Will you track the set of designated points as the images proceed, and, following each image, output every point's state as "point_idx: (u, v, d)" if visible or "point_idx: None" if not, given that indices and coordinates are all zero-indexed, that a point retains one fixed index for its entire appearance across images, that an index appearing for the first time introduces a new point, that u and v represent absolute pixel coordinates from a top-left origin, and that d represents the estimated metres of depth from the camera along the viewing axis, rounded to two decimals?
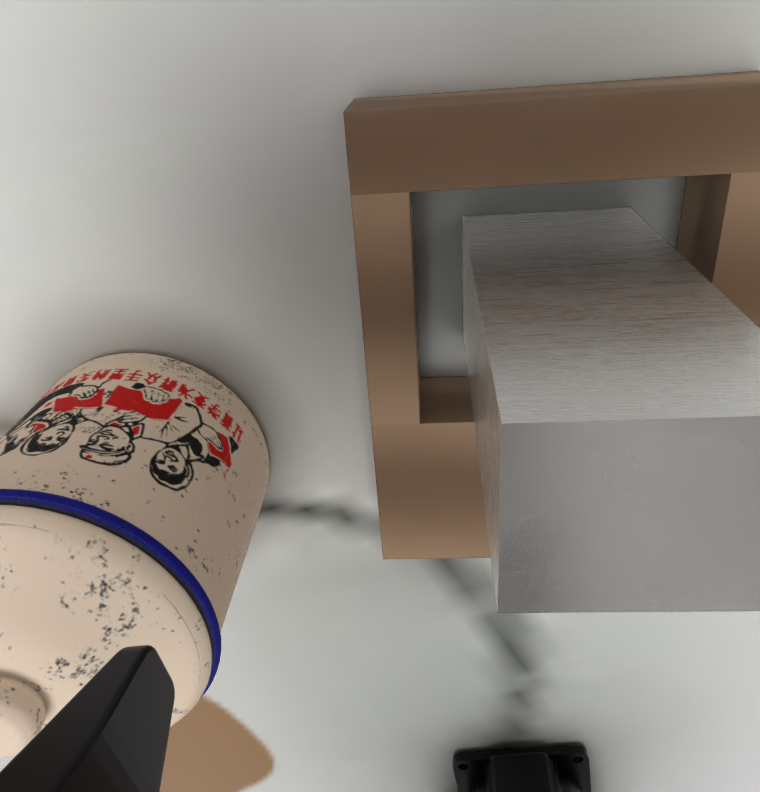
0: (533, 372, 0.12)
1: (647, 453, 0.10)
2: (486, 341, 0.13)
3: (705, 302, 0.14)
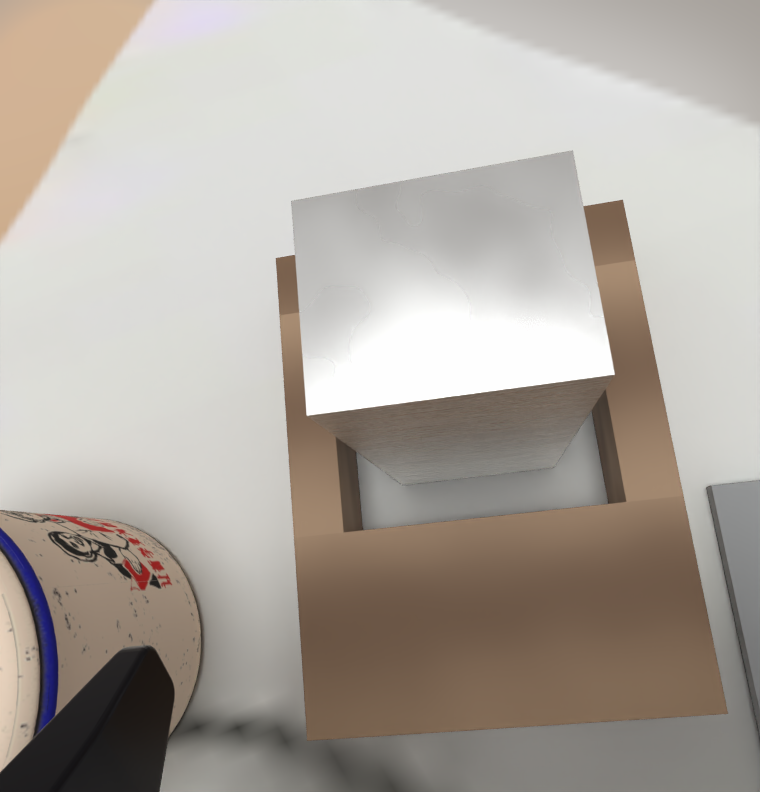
0: None
1: (416, 210, 0.12)
2: None
3: None
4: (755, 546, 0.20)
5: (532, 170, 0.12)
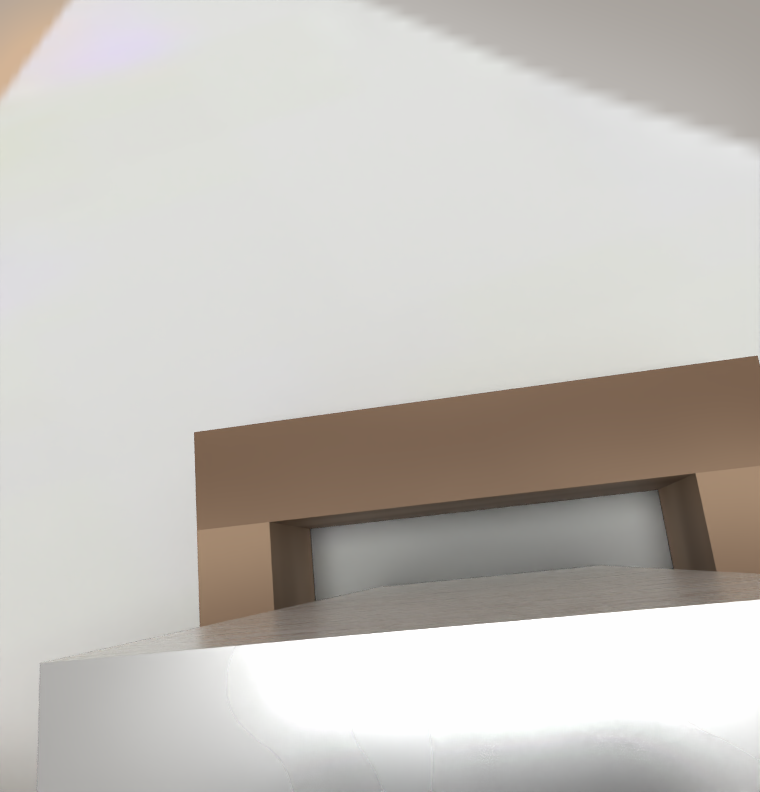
0: (245, 626, 0.06)
1: (411, 748, 0.04)
2: (229, 622, 0.07)
3: (652, 574, 0.08)
4: None
5: None
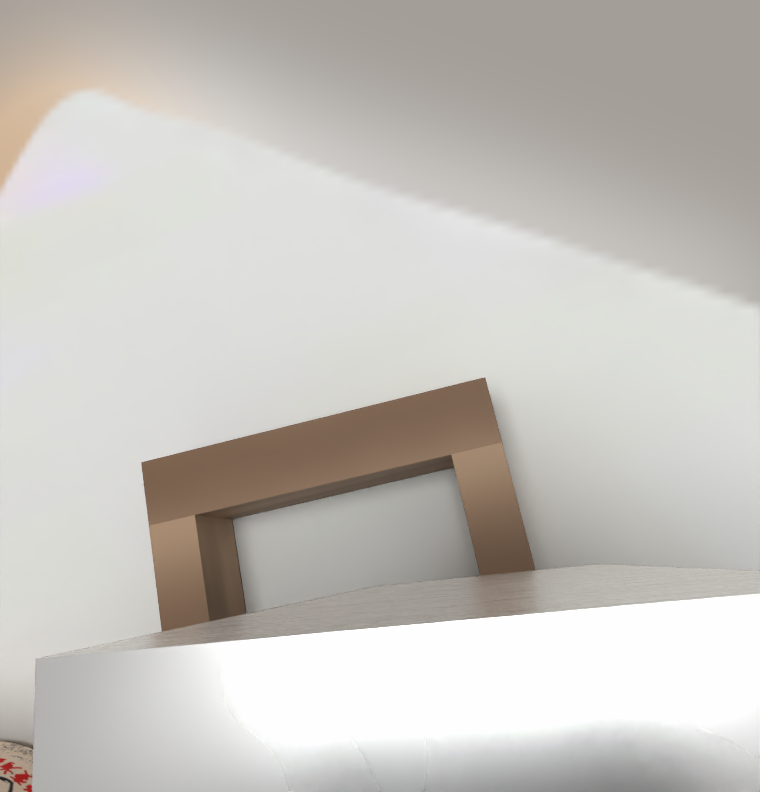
0: (241, 624, 0.06)
1: (405, 744, 0.04)
2: (226, 619, 0.07)
3: (650, 571, 0.08)
4: None
5: None
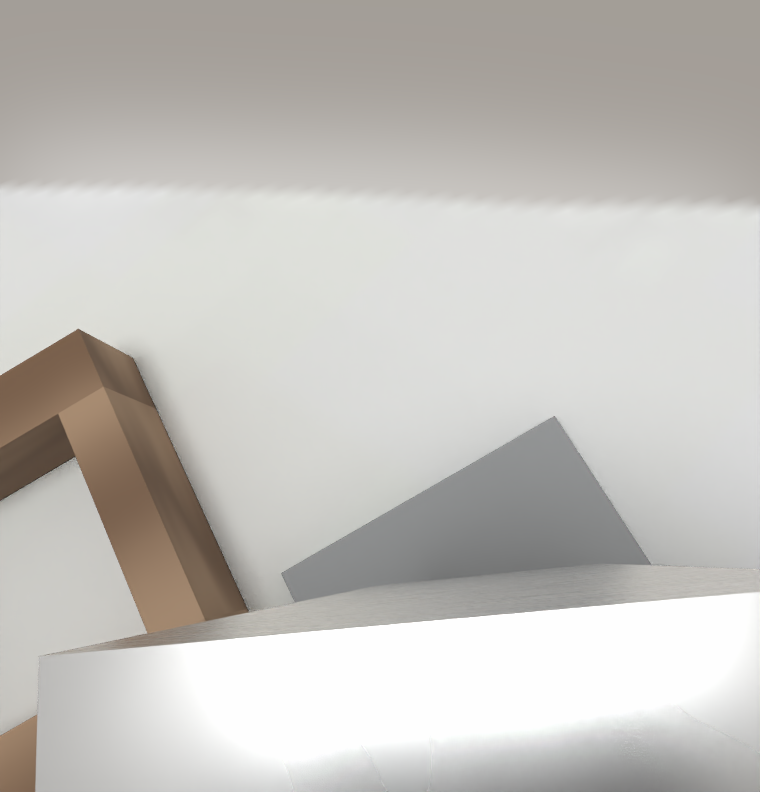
0: (244, 622, 0.06)
1: (411, 741, 0.04)
2: (228, 618, 0.07)
3: (653, 570, 0.08)
4: None
5: None
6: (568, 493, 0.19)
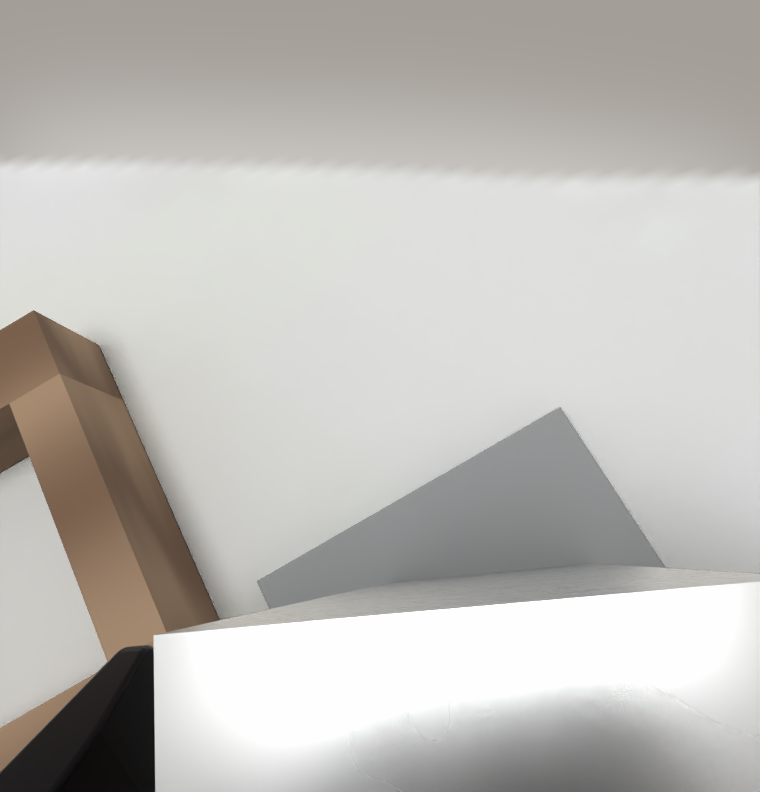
0: (295, 612, 0.07)
1: (433, 695, 0.05)
2: None
3: (629, 571, 0.09)
4: None
5: (716, 620, 0.05)
6: (576, 492, 0.17)
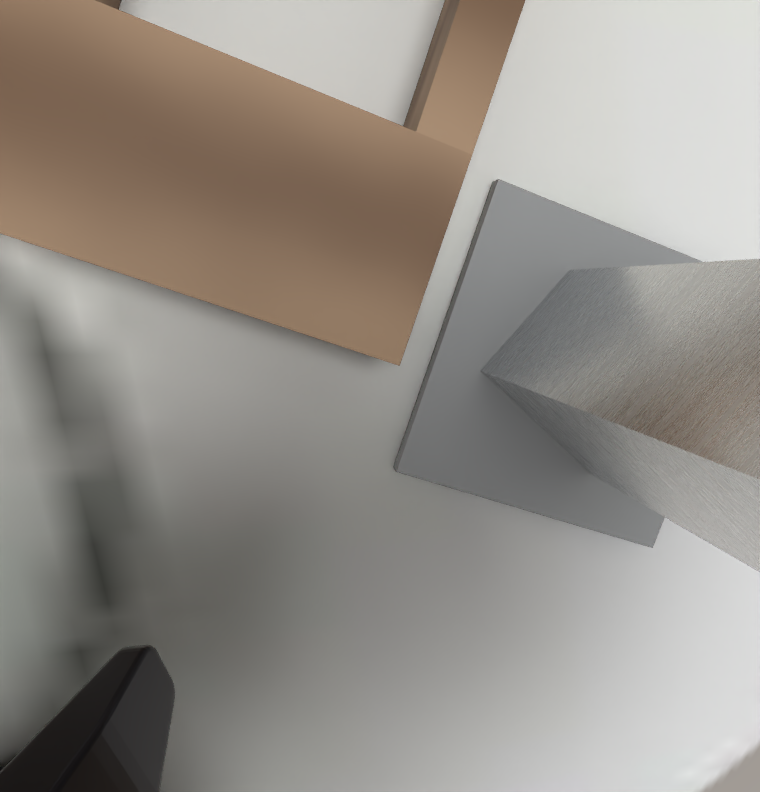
0: None
1: None
2: None
3: None
4: (502, 254, 0.20)
5: None
6: None
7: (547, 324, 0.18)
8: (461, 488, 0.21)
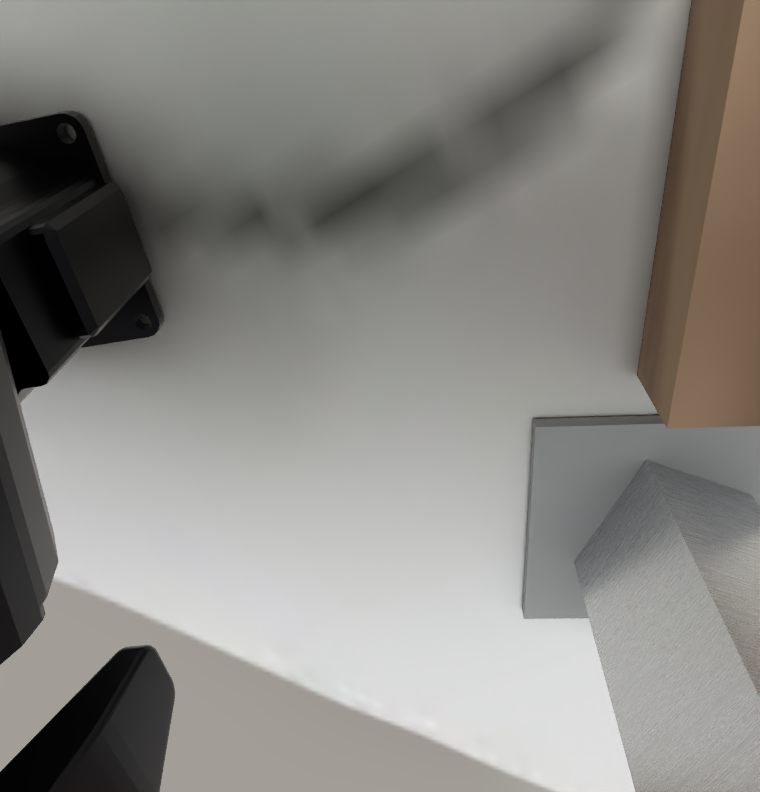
0: None
1: None
2: None
3: None
4: (757, 443, 0.22)
5: None
6: None
7: (717, 511, 0.21)
8: (534, 479, 0.23)
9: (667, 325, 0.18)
